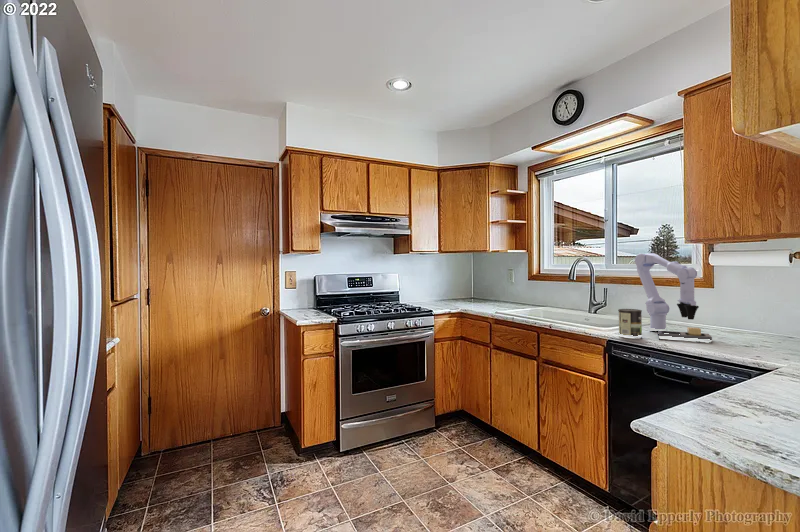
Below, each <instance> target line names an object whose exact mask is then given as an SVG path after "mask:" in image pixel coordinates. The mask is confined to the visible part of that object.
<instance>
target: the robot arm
mask: <svg viewBox="0 0 800 532" xmlns="http://www.w3.org/2000/svg"><path fill="white" fill-rule="evenodd" d="M634 262H635V265H636V272H637V273H638V276H639V278H640V282H641V284H642V286H643V288H644V292H645V294H646V297H647V300H646V302H645V304H646V311H647V313H648V315H649V321H650V322H649V324H650V325H649V328H655V329H665V328H666V329H667V315H668V313H669V312H670V306H669V304H668V303H667V302H666V300H665V299H664V298H662V297H661V296H660V295H659V292H658V289H657V287H656V284H655V283H654V279H653V277H652V274H651V272H650V270H651V269H652V268H653V267H654V266H655V264H657V265H659V266H662V267H664V268H666V270H667V272H670V273H671V274H674V275H676V276H677V278H678V279H679V280H678V281H679V284H680V285H679V286H680V288H679V289H680V290H679V295H680V296H679V297H680V298H679V299H677V302H678V303H676V306H677V307H678V309H679V312H680V316H681V318H687V320H695V315H696V313H697V310H699V307H700V306H699V305H697V301H696V300H695V279H697V276H698V271H697V269H695V268H694V267H688V266H687V265H684V264H681V263H679V261H670V260H667V259H666V258H664V257H662V256H661V255H659V254H657V253H656V252H655V253H654V252H649V253H642V252H640V253H637V255H636V256H635V258H634Z"/></svg>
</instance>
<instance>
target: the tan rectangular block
mask: <svg viewBox="0 0 800 532" xmlns="http://www.w3.org/2000/svg"><path fill="white" fill-rule="evenodd" d="M686 328H687V335H694V336H701V333H702V329H701V328H699V327H691V326H690V327H686Z"/></svg>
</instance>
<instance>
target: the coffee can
mask: <svg viewBox="0 0 800 532" xmlns="http://www.w3.org/2000/svg"><path fill="white" fill-rule="evenodd" d="M642 311H643V310H641V309H638V308H637V309H636V308H618V334H619V333H620V334H623V335H633V336H638V335H642V336H643V332H642V330H643V328H642V327H643V326H642V321H643V320H642V318H643V317H642Z"/></svg>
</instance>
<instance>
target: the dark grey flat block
mask: <svg viewBox="0 0 800 532" xmlns="http://www.w3.org/2000/svg"><path fill="white" fill-rule="evenodd" d="M664 333H669V334H664ZM658 334H659V336H672V337H684V338H698V339H710V340H712V341H713V336H712V335H711V334H709V333H703V332H701V336H694V335H687V332H686V331H673V330H672V331H671V330H667V331H658V332H657V335H658ZM679 334H680V335H679Z"/></svg>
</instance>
